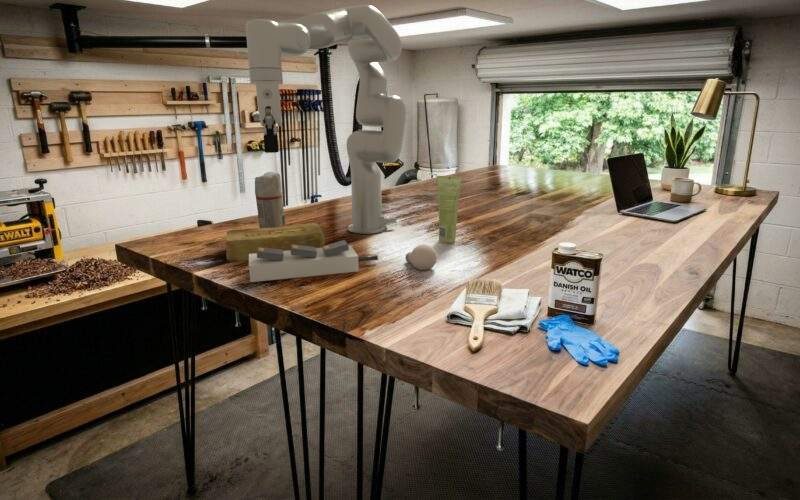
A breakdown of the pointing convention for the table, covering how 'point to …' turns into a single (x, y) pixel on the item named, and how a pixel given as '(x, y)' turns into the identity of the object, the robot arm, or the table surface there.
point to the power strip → (304, 265)
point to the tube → (448, 206)
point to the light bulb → (422, 257)
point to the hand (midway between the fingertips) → (271, 150)
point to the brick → (271, 239)
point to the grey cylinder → (269, 200)
